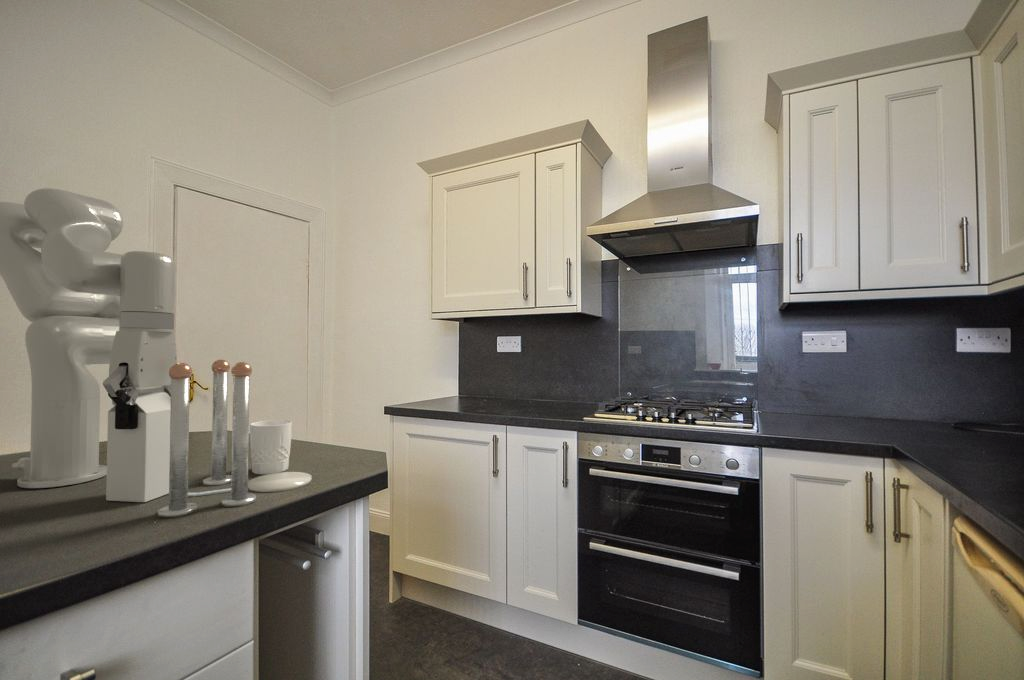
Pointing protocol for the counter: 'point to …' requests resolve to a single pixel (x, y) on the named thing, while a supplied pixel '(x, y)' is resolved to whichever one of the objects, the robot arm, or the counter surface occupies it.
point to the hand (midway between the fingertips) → (145, 423)
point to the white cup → (270, 446)
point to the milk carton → (140, 451)
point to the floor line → (209, 492)
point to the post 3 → (240, 438)
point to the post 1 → (179, 444)
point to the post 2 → (219, 425)
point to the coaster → (279, 481)
